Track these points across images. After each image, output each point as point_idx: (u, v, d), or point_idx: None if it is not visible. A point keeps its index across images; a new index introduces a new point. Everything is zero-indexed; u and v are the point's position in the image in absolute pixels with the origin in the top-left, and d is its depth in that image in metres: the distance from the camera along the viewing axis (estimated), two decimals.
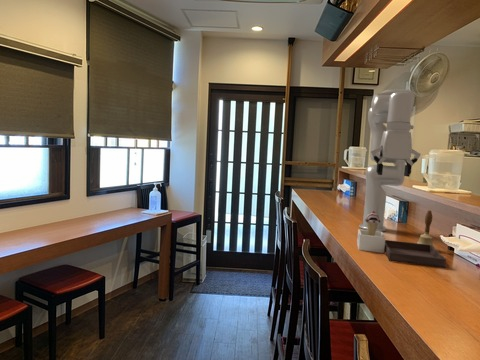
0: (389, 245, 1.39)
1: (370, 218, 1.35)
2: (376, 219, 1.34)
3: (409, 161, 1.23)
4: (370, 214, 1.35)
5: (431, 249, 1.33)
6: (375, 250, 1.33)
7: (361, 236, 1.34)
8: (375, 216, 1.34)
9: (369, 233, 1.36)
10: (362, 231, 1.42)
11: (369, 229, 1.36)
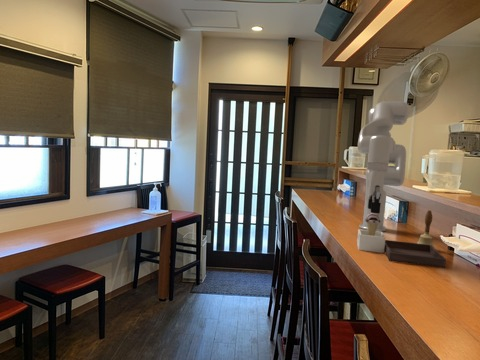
0: (389, 245, 1.39)
1: (370, 218, 1.35)
2: (376, 219, 1.34)
3: None
4: (370, 214, 1.35)
5: (431, 249, 1.33)
6: (375, 250, 1.33)
7: (361, 236, 1.34)
8: (375, 216, 1.34)
9: (369, 233, 1.36)
10: (362, 231, 1.42)
11: (369, 229, 1.36)
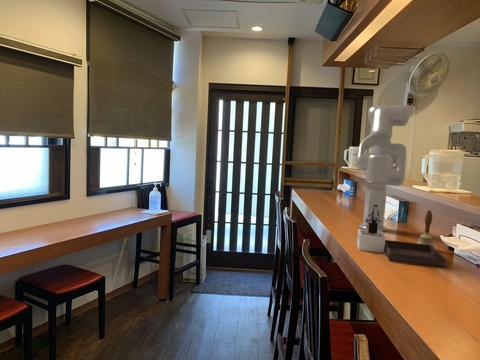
0: (389, 245, 1.39)
1: None
2: None
3: None
4: None
5: (431, 249, 1.33)
6: (375, 250, 1.33)
7: (361, 236, 1.34)
8: None
9: (369, 233, 1.36)
10: (362, 231, 1.42)
11: None
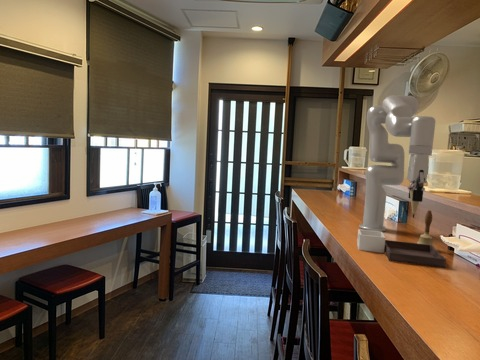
0: (389, 245, 1.39)
1: None
2: None
3: None
4: (414, 181, 1.26)
5: (431, 249, 1.33)
6: (375, 250, 1.33)
7: (361, 236, 1.34)
8: None
9: (412, 202, 1.27)
10: (362, 231, 1.42)
11: None
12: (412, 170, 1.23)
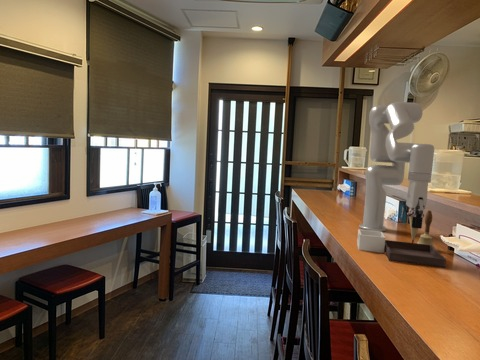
0: (389, 245, 1.39)
1: (413, 212, 1.26)
2: None
3: None
4: (413, 208, 1.27)
5: (431, 249, 1.33)
6: (375, 250, 1.33)
7: (361, 236, 1.34)
8: None
9: (412, 228, 1.27)
10: (362, 231, 1.42)
11: None
12: (411, 197, 1.24)
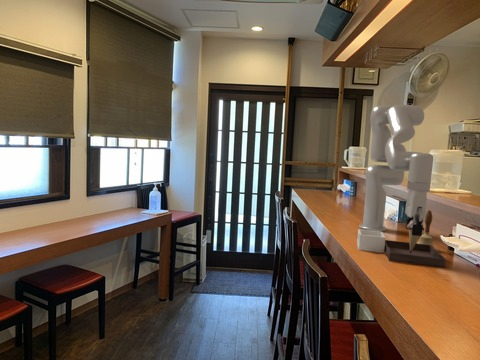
0: (389, 245, 1.39)
1: None
2: None
3: None
4: None
5: (431, 249, 1.33)
6: (375, 250, 1.33)
7: (361, 236, 1.34)
8: None
9: (411, 240, 1.28)
10: (362, 231, 1.42)
11: (411, 237, 1.27)
12: (410, 206, 1.24)
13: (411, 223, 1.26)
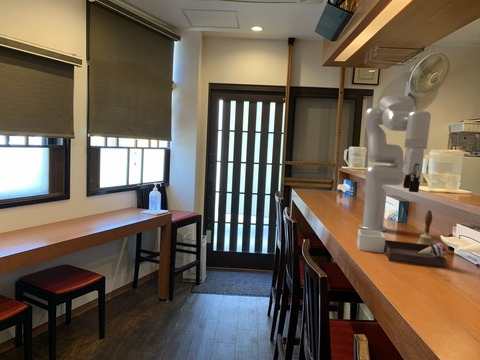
0: (389, 245, 1.39)
1: (433, 247, 1.19)
2: (435, 254, 1.19)
3: None
4: (439, 246, 1.18)
5: None
6: (375, 250, 1.33)
7: (361, 236, 1.34)
8: (438, 252, 1.18)
9: (424, 249, 1.25)
10: (362, 231, 1.42)
11: (426, 248, 1.24)
12: (408, 163, 1.27)
13: (437, 244, 1.19)
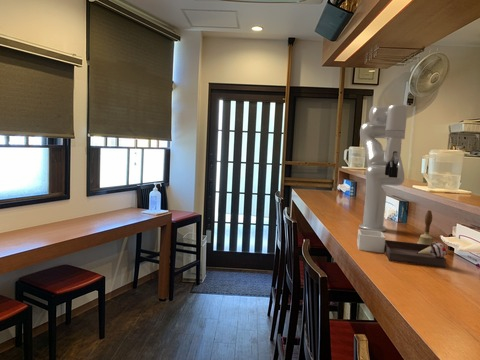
0: (389, 245, 1.39)
1: (433, 247, 1.19)
2: (435, 254, 1.19)
3: None
4: (439, 246, 1.18)
5: None
6: (375, 250, 1.33)
7: (361, 236, 1.34)
8: (438, 252, 1.18)
9: (424, 249, 1.25)
10: (362, 231, 1.42)
11: (426, 248, 1.24)
12: (387, 152, 1.40)
13: (437, 244, 1.19)
